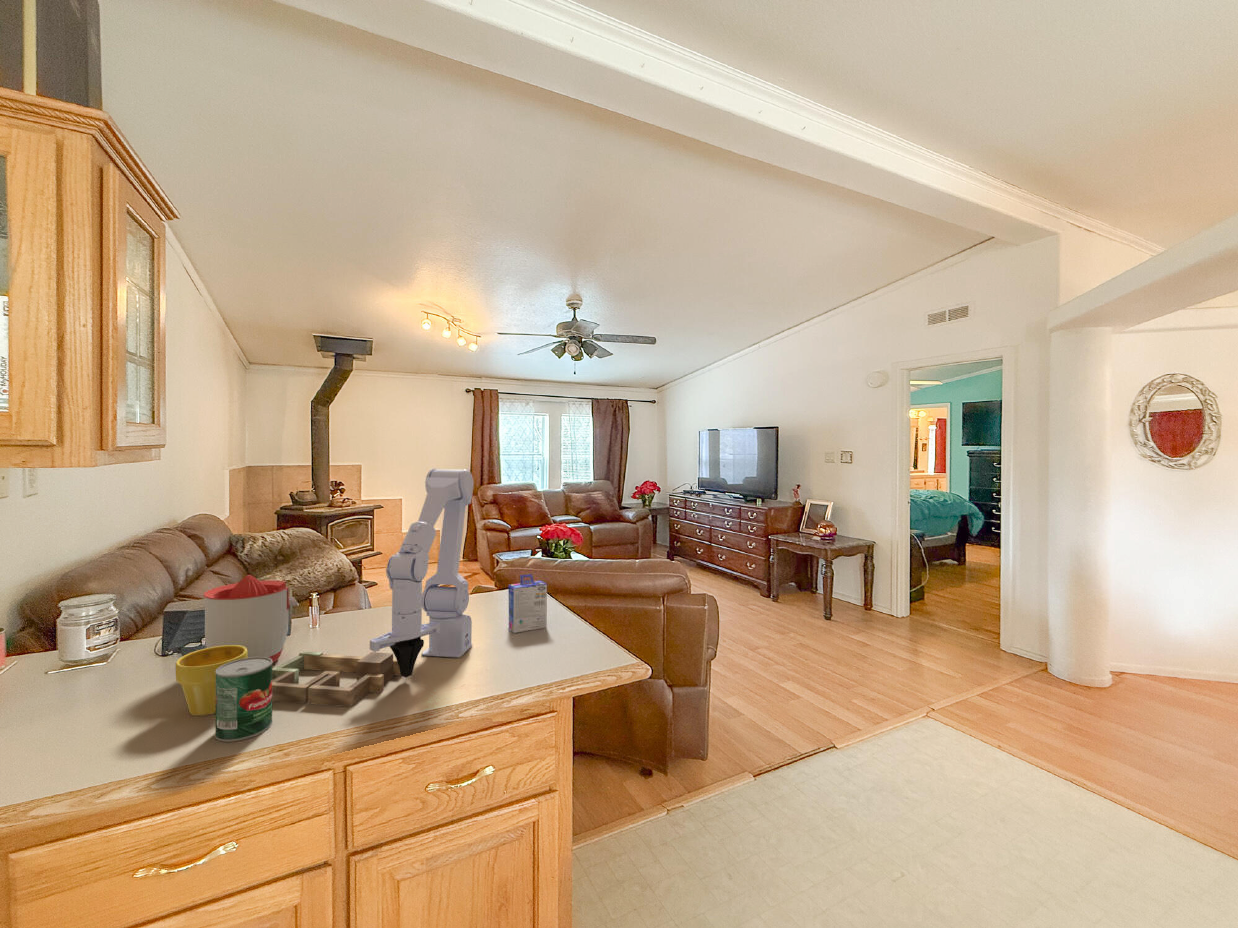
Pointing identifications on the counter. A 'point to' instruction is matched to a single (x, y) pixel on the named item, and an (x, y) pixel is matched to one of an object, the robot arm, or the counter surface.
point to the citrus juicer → (249, 616)
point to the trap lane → (323, 680)
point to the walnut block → (376, 665)
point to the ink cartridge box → (527, 605)
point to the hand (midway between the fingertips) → (406, 675)
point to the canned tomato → (243, 698)
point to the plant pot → (204, 675)
